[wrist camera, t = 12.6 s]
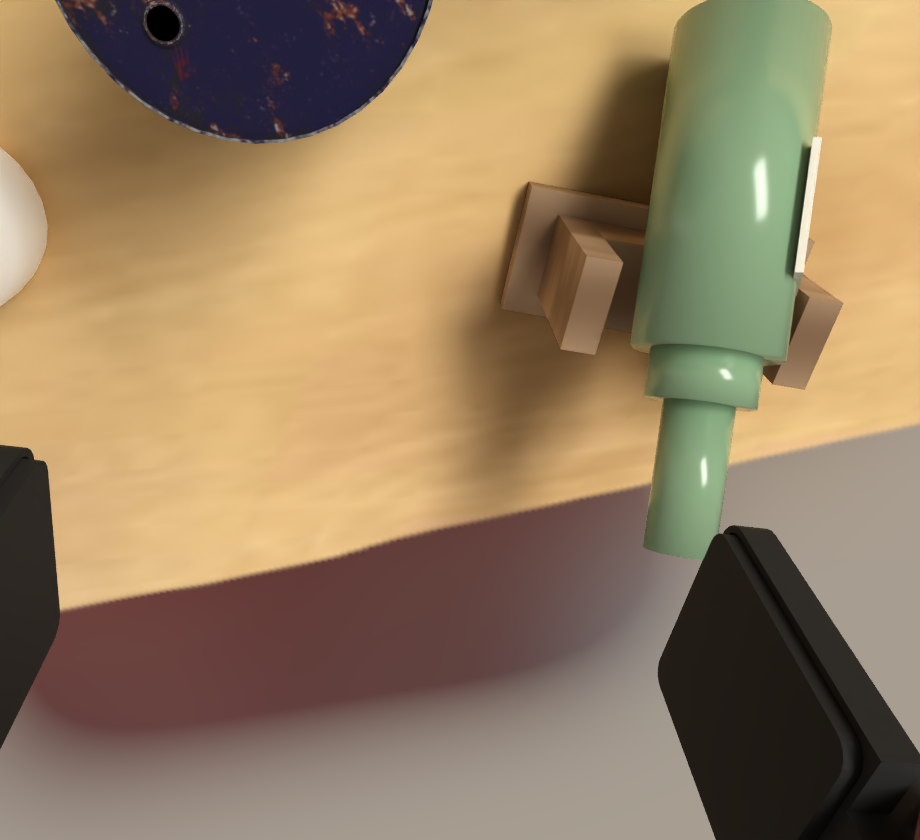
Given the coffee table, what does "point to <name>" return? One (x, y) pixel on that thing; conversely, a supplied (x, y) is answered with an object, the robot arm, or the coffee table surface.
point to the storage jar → (250, 59)
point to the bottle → (19, 228)
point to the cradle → (620, 276)
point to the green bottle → (724, 240)
